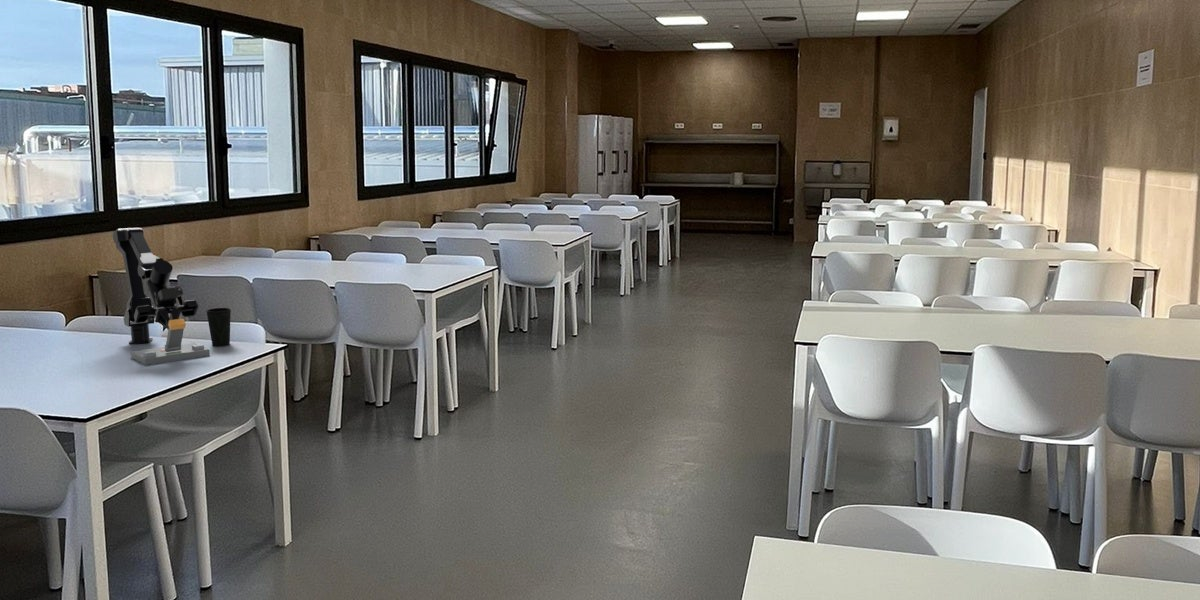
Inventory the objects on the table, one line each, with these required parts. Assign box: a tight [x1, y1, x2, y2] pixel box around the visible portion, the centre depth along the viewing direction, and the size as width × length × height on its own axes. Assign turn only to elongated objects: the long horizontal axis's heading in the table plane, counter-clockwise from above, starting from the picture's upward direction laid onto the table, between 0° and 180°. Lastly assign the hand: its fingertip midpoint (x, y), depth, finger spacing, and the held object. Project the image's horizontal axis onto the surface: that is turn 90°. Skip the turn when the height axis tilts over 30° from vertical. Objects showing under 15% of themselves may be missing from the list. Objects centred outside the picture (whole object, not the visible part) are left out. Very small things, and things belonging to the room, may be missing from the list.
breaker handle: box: [164, 318, 187, 352], centre depth 328 cm, size 2×4×12 cm
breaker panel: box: [130, 342, 211, 366], centre depth 333 cm, size 14×20×3 cm
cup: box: [206, 307, 232, 348], centre depth 349 cm, size 8×8×12 cm
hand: (174, 332), depth 328 cm, fingers closed, pressing on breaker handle
